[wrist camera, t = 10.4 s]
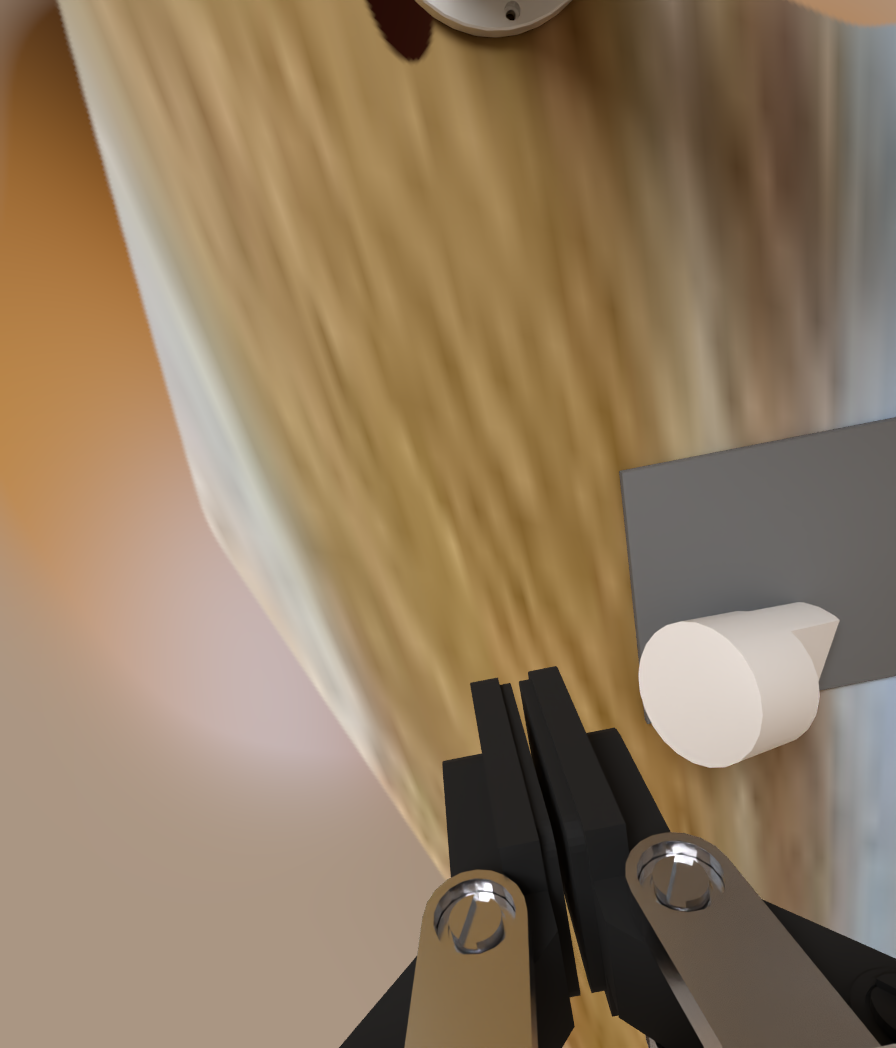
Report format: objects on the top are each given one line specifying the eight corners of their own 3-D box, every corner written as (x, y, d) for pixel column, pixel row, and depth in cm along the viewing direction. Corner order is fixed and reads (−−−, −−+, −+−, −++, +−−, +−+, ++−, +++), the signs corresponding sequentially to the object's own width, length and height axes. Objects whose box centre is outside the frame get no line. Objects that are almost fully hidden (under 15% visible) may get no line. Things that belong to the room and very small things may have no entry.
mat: (619, 471, 43) (622, 473, 42) (908, 414, 43) (915, 415, 42) (644, 719, 49) (647, 723, 48) (898, 669, 49) (904, 673, 48)
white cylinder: (626, 715, 44) (730, 685, 51) (738, 799, 37) (844, 753, 44) (655, 598, 42) (761, 582, 48) (781, 665, 35) (887, 636, 41)
